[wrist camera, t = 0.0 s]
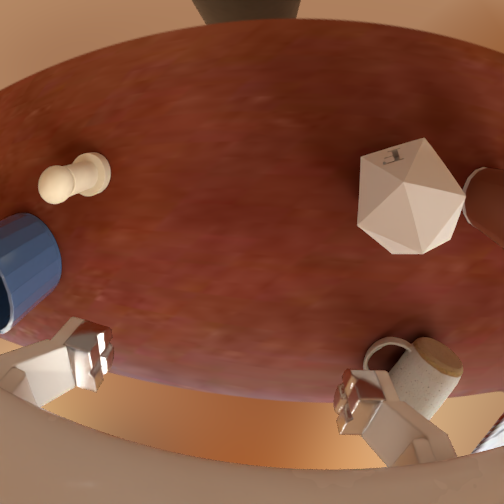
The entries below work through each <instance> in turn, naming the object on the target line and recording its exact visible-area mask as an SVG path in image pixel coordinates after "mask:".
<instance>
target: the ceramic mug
mask: <svg viewBox="0 0 504 504" xmlns="http://www.w3.org/2000/svg"><path fill="white" fill-rule="evenodd" d="M389 344H390V345H398V346H401V347H404V348H405V349H406V351H405V352H404V353H403V355H402V356H401V358H400V359H399V361H398V362H397V363H396V364H395V365H394V367H393V368H392V369H391V370H390V371H389V373H388V374H389V376H390V379H391V381H392V383H393V386H394V388H395V390H396V393H397V395H398V397H399V400H400V401H404V402H406V403H407V404H408V405H409V406H411V407H412V408H413V409H415V410H416V411H417V412H419V413H420V414H421V415H422V416H424V417H425V418H426V419H428V420H430V419H431V417H432V416H433V415H434V414H435V413H436V411H437V410H438V409H439V408H440V406H441V405H442V404H443V402H444V401H445V400H446V398H447V397H448V396H449V394H450V393H451V392H452V391H453V389H454V388H455V386H456V385H457V383H458V381H459V379H460V377H461V375H462V373H463V365H462V362H461V361H460V359H459V358H458V357H457V355H456V354H455V353H454V352H453V351H452V350H450V349H449V348H448V347H446V346H445V345H444V344H442V343H440V342H438V341H436V340H434V339H432V338H428V337H421V338H418V339H416V340H415V341H414V342H413V343H412V344H410V343H409V342H407V341H406V340H404V339H401V338H397V337H386V338H382V339H380V340H378V341H376V342H375V343H374V344H373V345H372V346H371V347H370V348H369V349H368V351H367V353H366V355H365V358H364V363H363V369H364V370H369V367H368V360H369V359H370V357H371V356H372V355H373V354H374V352H375V351H377V350H379V349H381V348H382V347H383V346H386V345H389Z"/></svg>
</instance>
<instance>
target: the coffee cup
mask: <svg viewBox="0 0 504 504" xmlns="http://www.w3.org/2000/svg"><path fill="white" fill-rule="evenodd" d="M463 192H464V194H465V195H466V198H465V201H464V204H463V207H462V209H463V214H464V216H465V217H466V219H467V221H468V223H470V224H471V225H473V226H474V227H475V228H477V229H478V230H480V231H481V232H482V233H484V234H485V235H486V236H488V237H489V238H490V239H492V240H493V241H494V242H495V243H497V244H498V245H499V246H501V247H502V248H503V249H504V170H502V169H494V168H487V167H482V168H479V169H476V170H475V171H474V172H473V173H472V174H471V175H470V176H469V177H468V178H467V180H466V183H465V185H464V187H463Z"/></svg>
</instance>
